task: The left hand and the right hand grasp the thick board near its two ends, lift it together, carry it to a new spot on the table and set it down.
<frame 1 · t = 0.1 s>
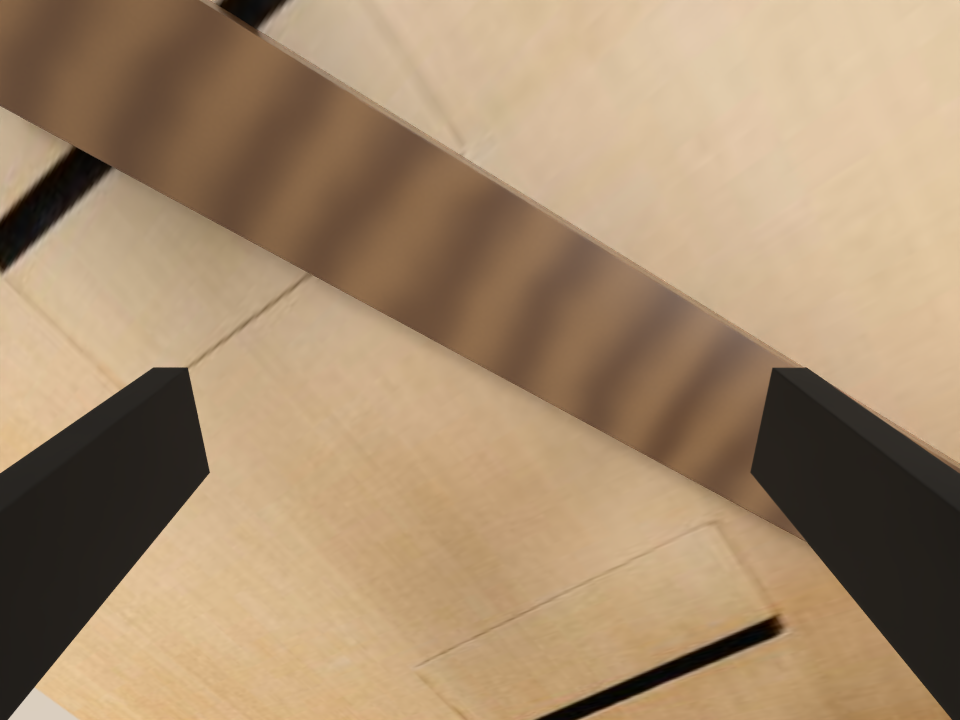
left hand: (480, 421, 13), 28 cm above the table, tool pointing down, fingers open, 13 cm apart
thick board: (599, 322, 41), on the table
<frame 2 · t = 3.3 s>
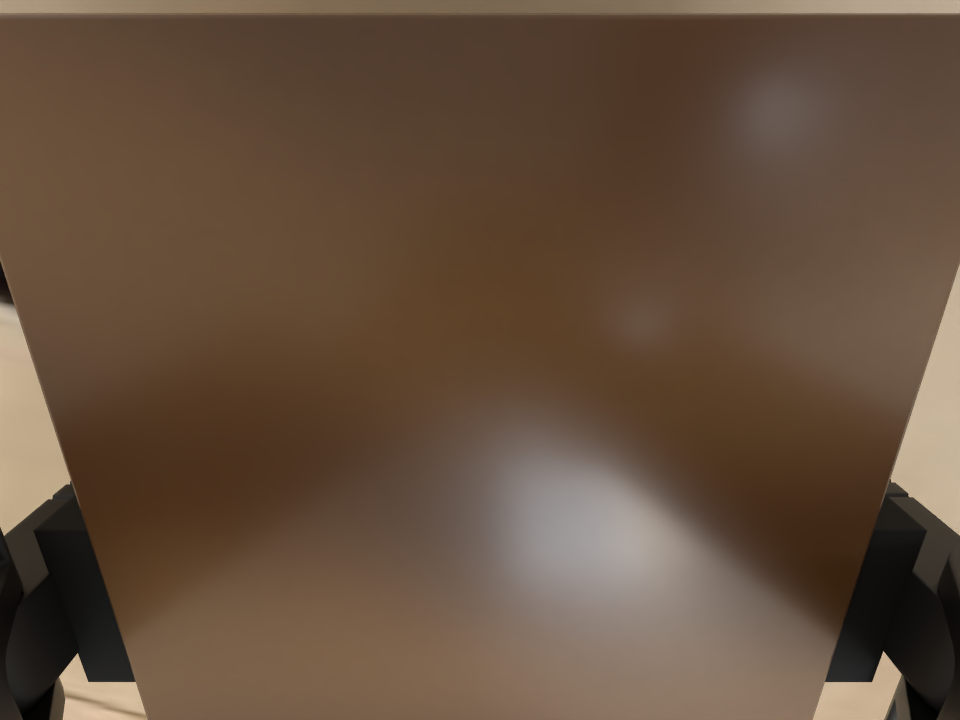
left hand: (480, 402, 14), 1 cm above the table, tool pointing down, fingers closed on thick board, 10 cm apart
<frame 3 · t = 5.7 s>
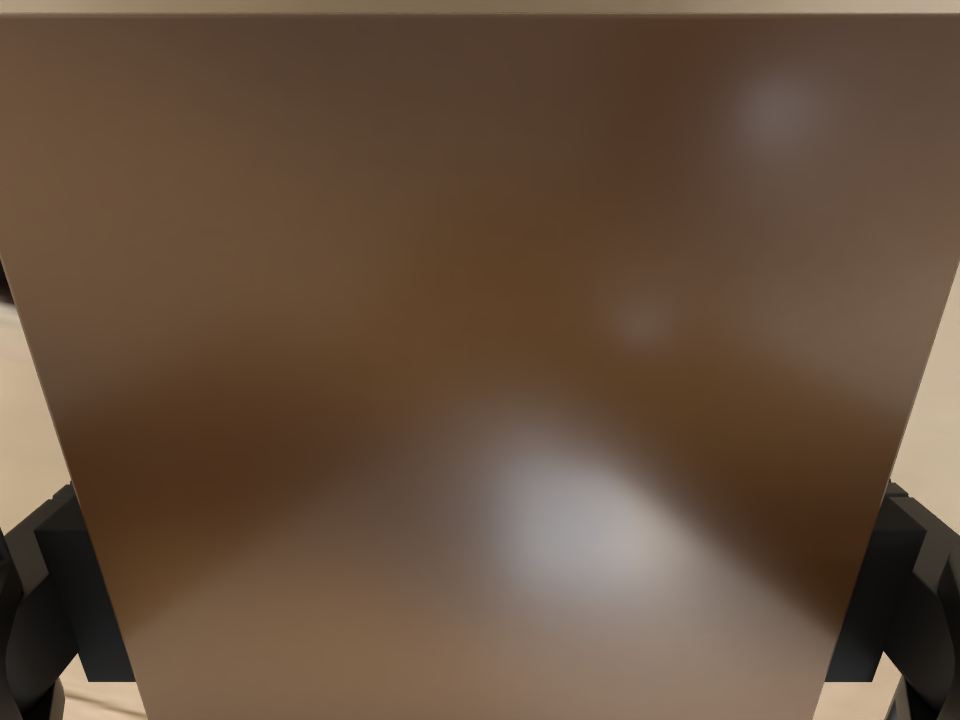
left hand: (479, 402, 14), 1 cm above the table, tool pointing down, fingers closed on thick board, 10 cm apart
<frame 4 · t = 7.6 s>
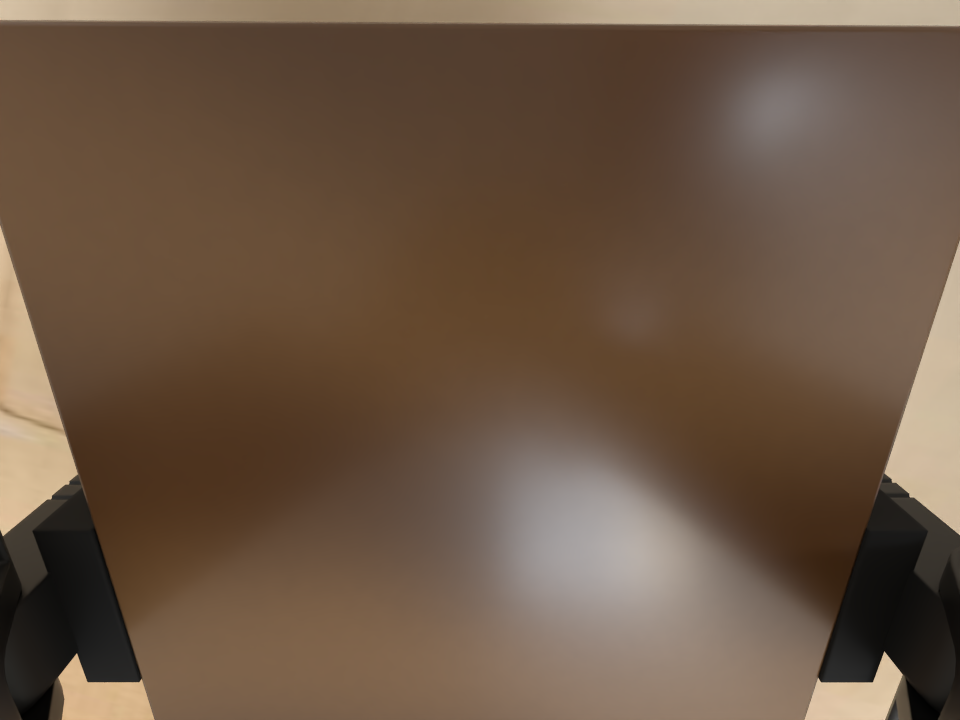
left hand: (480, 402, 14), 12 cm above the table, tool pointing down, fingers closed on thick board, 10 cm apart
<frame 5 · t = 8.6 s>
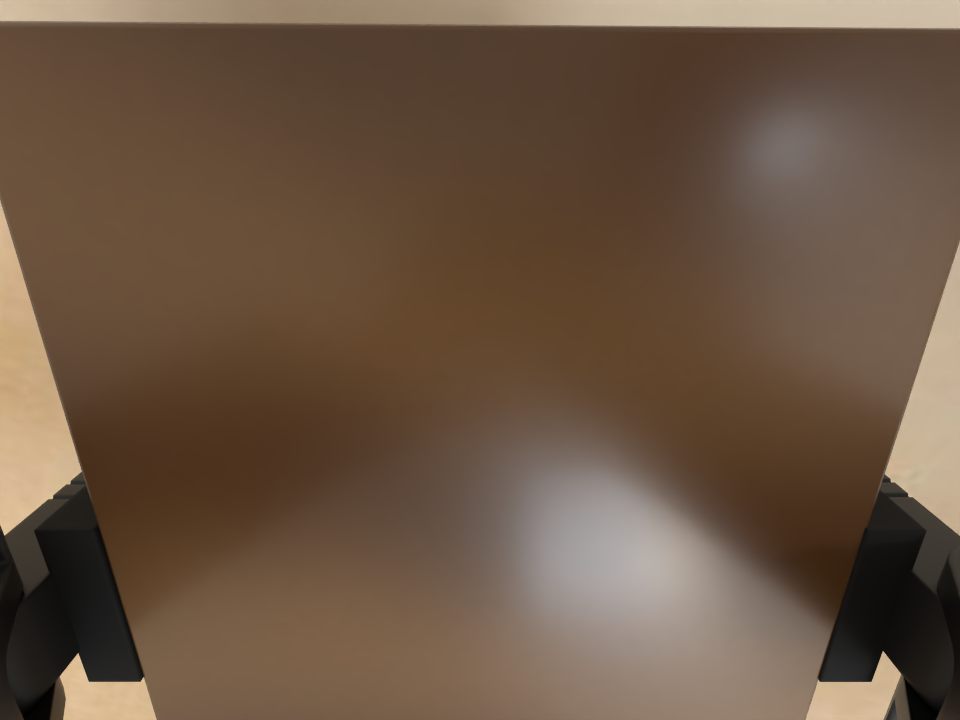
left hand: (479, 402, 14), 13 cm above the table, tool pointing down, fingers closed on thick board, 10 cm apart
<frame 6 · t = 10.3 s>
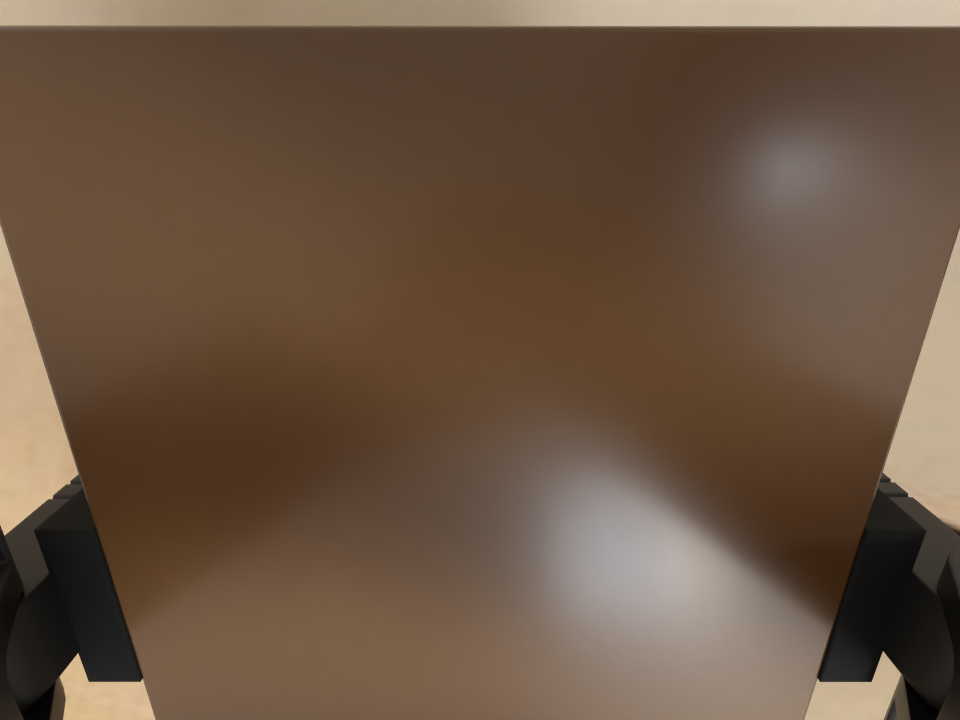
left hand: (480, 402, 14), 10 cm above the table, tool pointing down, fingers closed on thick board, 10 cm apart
when the left hand's fingers open (2 cm above the table, at t = 11.7 s): thick board drops 1 cm, on the table.
when the right hand's fingers open (2 cm above the table, at t = 11.7 s): thick board drops 1 cm, on the table.
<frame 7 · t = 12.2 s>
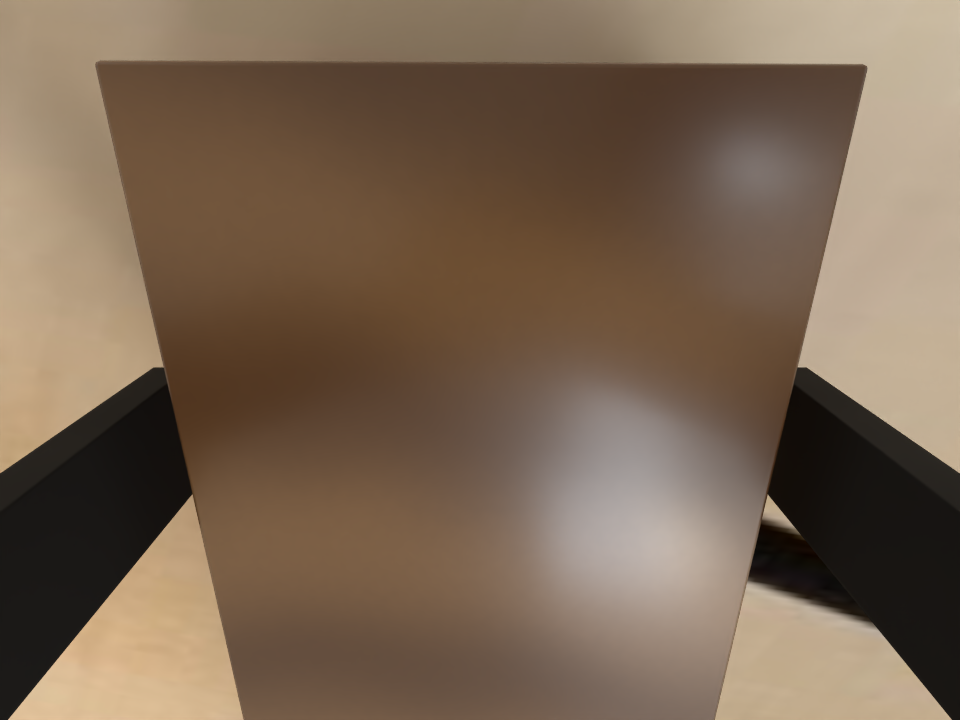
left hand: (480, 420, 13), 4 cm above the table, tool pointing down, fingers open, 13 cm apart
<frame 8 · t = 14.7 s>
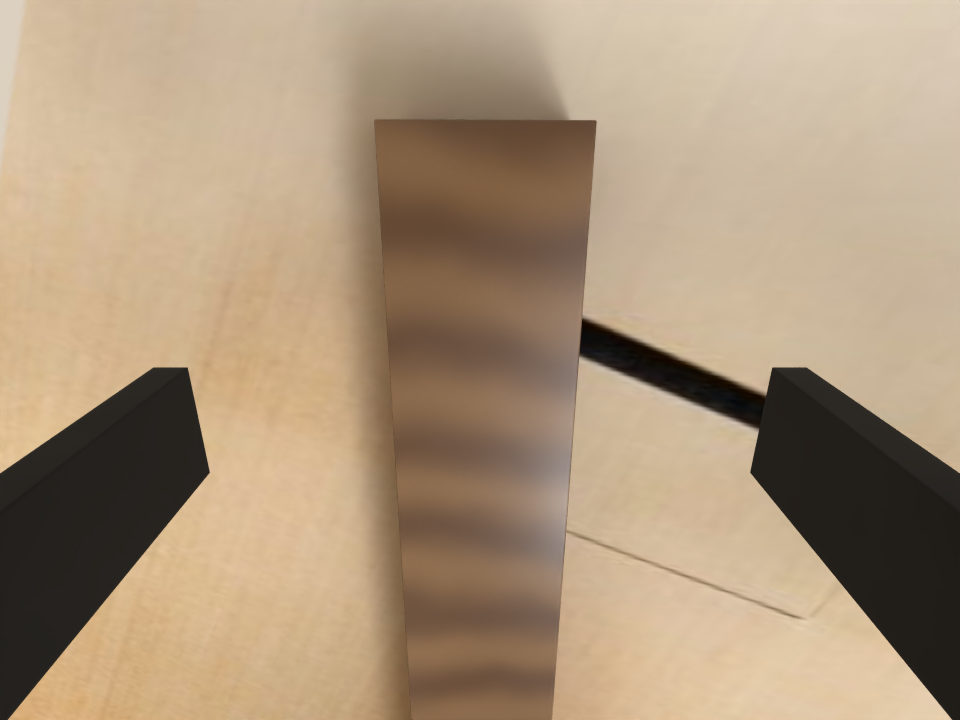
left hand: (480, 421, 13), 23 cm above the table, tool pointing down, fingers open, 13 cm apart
thick board: (481, 653, 46), on the table
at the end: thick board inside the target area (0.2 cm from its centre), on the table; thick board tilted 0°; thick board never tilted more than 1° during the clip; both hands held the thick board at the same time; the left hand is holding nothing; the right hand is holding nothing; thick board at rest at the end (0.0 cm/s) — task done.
